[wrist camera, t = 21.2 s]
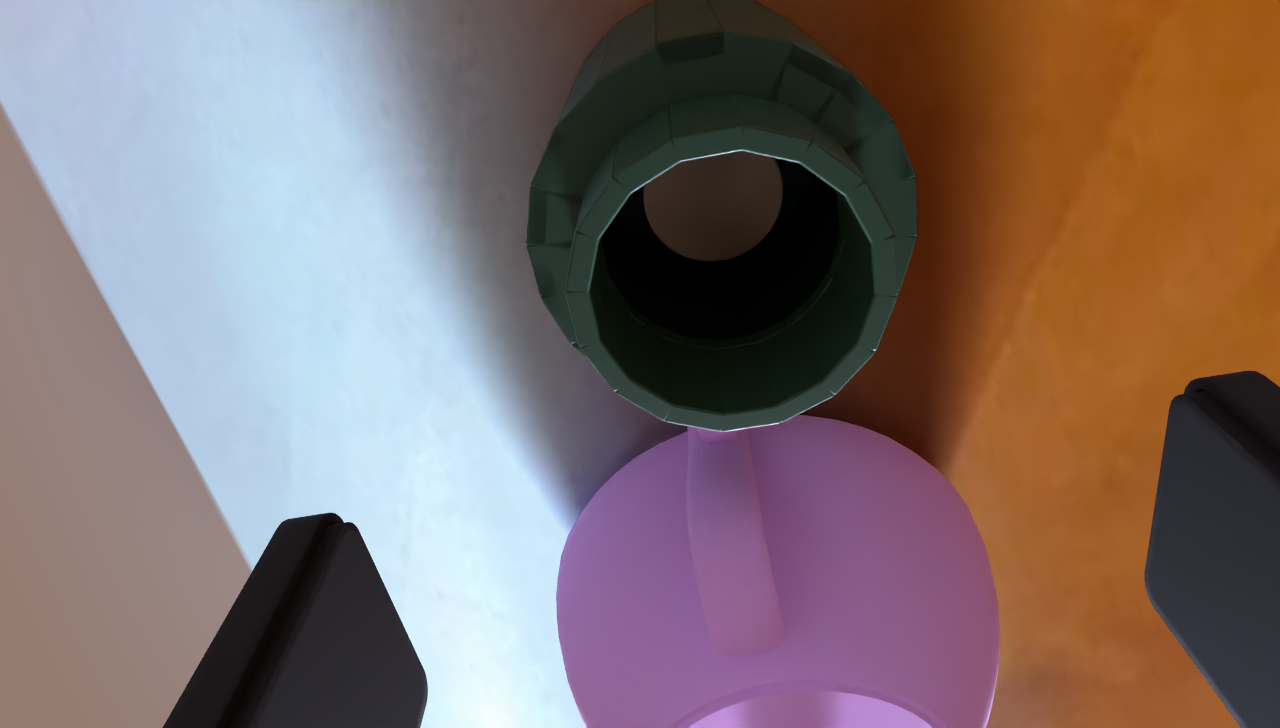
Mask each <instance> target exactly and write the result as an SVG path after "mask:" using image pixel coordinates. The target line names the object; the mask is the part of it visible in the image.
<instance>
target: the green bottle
mask: <svg viewBox="0 0 1280 728" xmlns="http://www.w3.org/2000/svg"><path fill="white" fill-rule="evenodd" d="M737 151H744V152H749V153H754V154H758V155H763V156H768V157H772V158H775V159H776V161H777V163H778V166H779V169H780V171H781V175H782V180H783V200H782V206H781V209H780V213H779V216H778V218H777V220H776V222H775V224H774V226H773V227H772V229H771V230H770V232H769V233H768V234H767V235H766V237H765V238H764V239H763V240H762V241H761V242H760V243H758V244H757V245H756V246H755V247H753V248H752V249H751V250H749V251H747V252H745V253H744V254H741V255H739V256H737V257H734V258H730V259H727V260H721V261H699V260H694V259H690V258H687V257H684V256H682V255H680V254H678V253H676V252H674V251H673V250H671V249H670V248H668V247H667V246H666V245H665V244H664V243H663V242H662V241H661V240H660V239H659V238H658V237H657V236H656V234H655V233H654V231H653V230H652V228H651V226H650V224H649V222H648V220H647V217H646V214H645V211H644V205H643V186H644V185H645V184H647V183H649V182H650V181H652V180H653V179H655V178H656V177H658V176H660V175H661V174H663V173H664V172H666V171H667V170H669V169H671V168H672V167H674V166H675V165H677V164H678V163H680V162H683V161H689V160H694V159H699V158H705V157H710V156H716V155H721V154H726V153H732V152H737ZM916 235H917V200H916V178H915V172H914V170H913V167H912V165H911V162H910V160H909V157H908V154H907V152H906V149H905V147H904V144H903V142H902V139H901V137H900V134H899V132H898V129H897V127H896V124H895V121H894V120H893V119H892V117H891V115H890V114H889V113H888V112H887V111H886V110H885V109H884V108H883V107H882V105H881V104H880V103H879V102H878V101H877V100H876V99H875V98H874V96H873V95H872V94H871V93H870V92H869V91H868V90H867V89H866V88H865V86H864V85H863V84H862V83H861V82H860V81H859V80H858V79H857V78H856V76H855V75H854V74H853V73H852V72H851V71H849V70H848V69H847V68H846V67H844V66H843V65H842V64H841V63H840V62H838V61H837V60H836V59H835V58H834V57H832V56H831V55H830V54H829V53H828V52H826V51H825V50H824V49H823V48H821V47H820V46H819V45H818V44H817V43H815V42H814V41H813V40H812V39H811V38H809V37H808V36H807V35H806V34H805V33H803V32H802V31H801V30H800V29H799V28H797V27H796V26H795V25H794V24H793V23H791V22H790V21H789V20H788V19H786V18H785V17H783V16H781V15H779V14H777V13H775V12H773V11H772V10H770V9H769V8H767V7H765V6H763V5H761V4H758V3H756V2H755V1H753V0H657V1H655V2H652V3H650V4H648V5H646V6H644V7H642V8H640V9H638V10H637V11H635V12H633V13H632V14H630V15H629V16H627V17H625V18H624V19H623V20H622V21H620V22H619V23H617V24H616V25H615V26H614V27H613V28H612V29H611V30H610V31H609V32H608V33H607V34H606V35H605V36H604V37H603V39H602V40H601V41H600V42H599V43H598V44H597V46H596V47H595V48H594V50H593V51H592V52H591V53H590V54H589V56H588V57H587V58H586V60H585V61H584V63H583V65H582V68H581V70H580V72H579V74H578V76H577V79H576V81H575V83H574V85H573V87H572V90H571V92H570V94H569V96H568V98H567V101H566V103H565V105H564V107H563V109H562V112H561V114H560V116H559V118H558V120H557V123H556V125H555V127H554V129H553V131H552V134H551V136H550V139H549V141H548V143H547V146H546V148H545V151H544V153H543V155H542V158H541V160H540V163H539V165H538V168H537V170H536V172H535V175H534V177H533V180H532V182H531V187H530V193H529V209H528V225H527V241H526V243H527V249H528V253H529V257H530V260H531V264H532V268H533V271H534V275H535V279H536V282H537V286H538V290H539V293H540V297H541V298H542V301H543V303H544V304H545V306H546V307H547V309H548V310H549V312H550V313H551V315H552V316H553V318H554V319H555V321H556V323H557V324H558V326H559V327H560V329H561V330H562V332H563V333H564V335H565V336H566V338H567V339H568V341H569V342H570V343H571V344H572V345H573V347H574V348H576V349H577V350H578V351H579V352H581V353H582V354H583V355H584V356H586V357H587V358H588V359H589V361H590V362H591V363H592V365H593V366H594V367H595V368H596V370H597V371H598V372H599V374H600V375H601V376H602V377H603V379H604V380H605V381H606V383H607V384H608V385H609V386H610V388H611V389H612V390H613V391H615V393H616V394H618V395H619V396H621V397H623V398H624V399H626V400H628V401H629V402H631V403H633V404H635V405H636V406H638V407H640V408H641V409H643V410H645V411H647V412H648V413H650V414H652V415H653V416H655V417H657V418H659V419H660V420H662V421H664V420H665V422H668V423H674V424H679V425H685V426H690V427H696V428H701V429H707V430H712V431H718V432H721V431H723V432H727V431H734V430H741V429H747V428H754V427H761V426H768V425H774V424H779V423H780V422H785V421H787V420H789V419H791V418H793V417H795V416H797V415H799V414H801V413H802V412H804V411H806V410H808V409H810V408H812V407H814V406H816V405H818V404H820V403H822V402H824V401H826V400H828V399H830V398H832V397H833V396H834V395H836V394H837V393H838V392H839V391H840V390H841V389H842V388H843V387H844V386H845V384H846V383H847V382H848V381H849V380H850V379H851V378H852V377H853V376H854V375H855V374H856V373H857V372H858V371H859V370H860V368H861V367H862V366H863V365H864V364H865V363H866V362H867V361H868V360H869V359H870V358H871V357H872V356H873V355H874V353H875V351H876V350H877V348H878V346H879V343H880V341H881V338H882V336H883V333H884V331H885V328H886V325H887V323H888V320H889V318H890V315H891V313H892V310H893V308H894V305H895V303H896V300H897V298H898V297H897V296H898V294H899V291H900V290H901V288H902V284H903V281H904V278H905V275H906V271H907V268H908V265H909V261H910V258H911V255H912V252H913V248H914V245H915V242H916V239H917V236H916Z"/></svg>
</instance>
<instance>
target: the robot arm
mask: <svg viewBox="0 0 1280 728" xmlns="http://www.w3.org/2000/svg"><path fill="white" fill-rule="evenodd" d="M1144 580H1145V586H1146V590H1147V594H1148V596H1149V599H1150V601H1151V603H1152V605H1153V606H1154V608H1155V610H1156V611H1157V613H1158V614H1159V615H1160V617H1161V618H1162V619H1163V621H1164V622H1165V624H1166V625H1167V626H1168V628H1169V629H1170V630H1171V632H1172V633H1173V635H1174V636H1175V637H1176V639H1177V640H1178V642H1179V643H1180V644H1181V646H1182V647H1183V648H1184V650H1185V651H1186V653H1187V654H1188V655H1189V657H1190V658H1191V659H1192V661H1193V662H1194V664H1195V665H1196V666H1197V668H1198V669H1199V670H1200V672H1201V673H1202V675H1203V676H1204V677H1205V679H1206V680H1207V682H1208V683H1209V684H1210V686H1211V687H1212V688H1213V690H1214V691H1215V693H1216V694H1217V695H1218V697H1219V698H1220V699H1221V701H1222V702H1223V704H1224V705H1225V706H1226V708H1227V709H1228V710H1229V712H1230V713H1231V715H1232V716H1233V717H1234V719H1235V720H1236V722H1237V723H1238V724H1239V726H1240V727H1241V728H1280V387H1279V386H1277V385H1276V384H1275V383H1273V382H1272V381H1271V380H1269V379H1268V378H1267V377H1266V376H1264V375H1262V374H1260V373H1258V372H1256V371H1243V372H1237V373H1230V374H1224V375H1217V376H1211V377H1204V378H1198V379H1195V380H1193V381H1190V383H1189V384H1188V385H1187V387H1186V388H1185V392H1184V394H1182V395H1178V396H1176V397H1174V399H1173V400H1172V401H1171V405H1170V408H1169V415H1168V422H1167V428H1166V435H1165V441H1164V448H1163V455H1162V461H1161V468H1160V475H1159V481H1158V488H1157V494H1156V501H1155V508H1154V514H1153V521H1152V528H1151V534H1150V541H1149V547H1148V554H1147V561H1146V567H1145V578H1144ZM427 694H428V687H427V679H426V674H425V671H424V669H423V667H422V665H421V662H420V660H419V658H418V656H417V654H416V652H415V650H414V647H413V645H412V643H411V641H410V639H409V637H408V635H407V632H406V630H405V628H404V626H403V624H402V622H401V620H400V617H399V615H398V613H397V611H396V609H395V607H394V605H393V602H392V600H391V598H390V596H389V594H388V592H387V590H386V588H385V585H384V583H383V581H382V579H381V577H380V575H379V573H378V570H377V568H376V566H375V564H374V562H373V560H372V558H371V555H370V553H369V551H368V549H367V547H366V545H365V543H364V540H363V538H362V536H361V534H360V532H359V530H358V528H357V527H356V526H355V525H354V524H353V523H350V522H346V523H344V522H343V520H342V519H341V518H340V517H339V516H338V515H337V514H335V513H325V514H318V515H312V516H305V517H299V518H293V519H287V520H285V521H283V522H282V523H281V524H280V525H279V527H278V528H277V530H276V531H275V533H274V535H273V537H272V538H271V540H270V542H269V543H268V545H267V547H266V549H265V550H264V552H263V554H262V556H261V557H260V559H259V561H258V563H257V564H256V566H255V568H254V570H253V571H252V573H251V575H250V577H249V578H248V580H247V582H246V584H245V585H244V587H243V589H242V590H241V592H240V594H239V596H238V598H237V599H236V601H235V603H234V605H233V606H232V608H231V610H230V611H229V613H228V615H227V617H226V618H225V620H224V622H223V624H222V625H221V627H220V629H219V631H218V632H217V634H216V636H215V638H214V639H213V641H212V643H211V644H210V646H209V648H208V650H207V651H206V653H205V655H204V657H203V658H202V660H201V662H200V664H199V665H198V667H197V669H196V671H195V672H194V674H193V676H192V678H191V679H190V681H189V683H188V684H187V686H186V688H185V690H184V692H183V693H182V695H181V697H180V698H179V700H178V702H177V704H176V705H175V707H174V709H173V711H172V712H171V714H170V716H169V718H168V719H167V721H166V723H165V725H164V726H163V728H420V726H421V722H422V718H423V714H424V711H425V707H426V702H427Z"/></svg>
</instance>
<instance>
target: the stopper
mask: <svg viewBox="0 0 1280 728" xmlns="http://www.w3.org/2000/svg"><path fill="white" fill-rule="evenodd" d="M782 200H783V180H782V175H781V171H780V169H779V166H778V163H777V161H776V159H775V158H772V157H768V156H763V155H758V154H754V153H749V152H744V151H737V152H732V153H726V154H721V155H716V156H710V157H705V158H699V159H694V160H689V161H683V162H680V163H678V164H677V165H675V166H674V167H672V168H671V169H669V170H667V171H666V172H664V173H663V174H661V175H660V176H658V177H656V178H655V179H653V180H652V181H650V182H649V183H647V184H645V185H644V186H643V205H644V211H645V214H646V217H647V220H648V222H649V224H650V226H651V228H652V230H653V231H654V233H655V234H656V236H657V237H658V238H659V239H660V240H661V241H662V242H663V243H664V244H665V245H666V246H667V247H668V248H670V249H671V250H673V251H674V252H676V253H678V254H680V255H682V256H684V257H687V258H690V259H694V260H699V261H721V260H727V259H730V258H734V257H737V256H739V255H741V254H744V253H745V252H747V251H749V250H751V249H752V248H753V247H755V246H756V245H757V244H758V243H760V242H761V241H762V240H763V239H764V238H765V237H766V235H767V234H768V233H769V232H770V230H771V229H772V227H773V226H774V224H775V222H776V220H777V218H778V216H779V213H780V209H781V206H782Z"/></svg>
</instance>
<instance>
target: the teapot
mask: <svg viewBox="0 0 1280 728" xmlns="http://www.w3.org/2000/svg"><path fill="white" fill-rule="evenodd" d="M556 601H557V622H558V633H559V640H560V645H561V650H562V655H563V660H564V665H565V670H566V674H567V679H568V682H569V685H570V688H571V691H572V693H573V696H574V699H575V702H576V704H577V707H578V709H579V712H580V714H581V717H582V719H583V722H584V724H585V726H586V727H587V728H986V726H987V722H988V718H989V715H990V711H991V707H992V702H993V696H994V691H995V685H996V679H997V673H998V666H999V649H1000V627H999V611H998V603H997V595H996V589H995V585H994V580H993V576H992V572H991V567H990V563H989V559H988V555H987V551H986V547H985V544H984V542H983V540H982V538H981V535H980V533H979V531H978V529H977V526H976V524H975V522H974V520H973V517H972V515H971V513H970V511H969V509H968V507H967V505H966V504H965V502H964V501H963V499H962V498H961V496H960V495H959V493H958V492H957V490H956V489H955V488H954V487H953V486H952V484H951V483H950V482H949V481H948V480H947V479H946V478H945V477H944V476H943V475H942V474H941V473H940V472H939V471H938V470H937V469H936V468H934V467H933V466H932V465H930V464H929V463H928V462H927V461H925V460H924V459H923V458H921V457H920V456H919V455H917V454H916V453H914V452H913V451H911V450H910V449H908V448H906V447H905V446H903V445H901V444H899V443H897V442H896V441H894V440H892V439H890V438H889V437H887V436H884V435H882V434H879V433H877V432H874V431H872V430H869V429H867V428H864V427H861V426H858V425H854V424H850V423H846V422H843V421H839V420H835V419H828V418H821V417H814V416H807V415H797V416H795V417H793V418H791V419H789V420H787V421H785V422H780V423H779V424H774V425H768V426H761V427H754V428H747V429H741V430H734V431H727V432H723V431H721V432H718V431H712V430H707V429H701V428H696V427H690V426H687V432H684V433H682V434H680V435H678V436H675V437H673V438H671V439H668V440H666V441H664V442H662V443H659V444H657V445H656V446H654V447H652V448H651V449H649V450H647V451H646V452H644V453H642V454H640V455H639V456H637V457H635V458H634V459H633V460H631V461H630V462H629V463H628V464H626V465H625V466H624V467H622V468H621V469H620V470H618V471H617V472H616V473H615V474H614V475H613V476H612V477H611V478H610V479H609V480H608V481H607V482H606V483H605V484H604V485H603V486H602V487H601V488H600V489H599V490H598V491H597V492H596V493H595V495H594V496H593V497H592V499H591V500H590V501H589V503H588V504H587V505H586V507H585V508H584V510H583V511H582V512H581V514H580V515H579V516H578V518H577V520H576V522H575V524H574V526H573V528H572V529H571V531H570V533H569V535H568V537H567V540H566V543H565V546H564V549H563V552H562V555H561V561H560V567H559V574H558V583H557V594H556Z"/></svg>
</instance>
